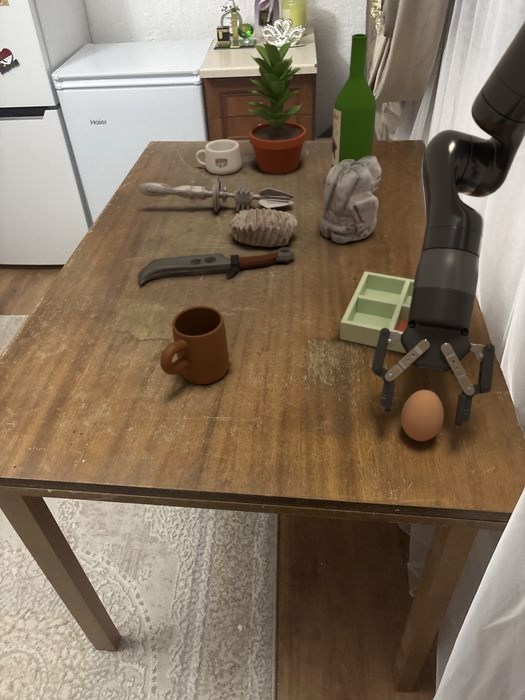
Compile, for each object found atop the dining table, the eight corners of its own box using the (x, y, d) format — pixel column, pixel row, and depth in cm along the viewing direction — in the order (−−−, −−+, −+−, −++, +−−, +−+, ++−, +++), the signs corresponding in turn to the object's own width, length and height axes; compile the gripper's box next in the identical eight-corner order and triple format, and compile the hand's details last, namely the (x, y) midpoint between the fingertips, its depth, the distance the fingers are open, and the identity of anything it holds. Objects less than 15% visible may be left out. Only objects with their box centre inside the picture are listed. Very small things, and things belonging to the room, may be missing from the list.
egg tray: (451, 303, 92) (455, 286, 90) (437, 360, 82) (441, 342, 79) (363, 287, 97) (364, 271, 95) (339, 339, 87) (340, 322, 84)
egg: (438, 424, 72) (449, 382, 67) (438, 454, 68) (449, 412, 63) (399, 418, 73) (406, 376, 68) (396, 447, 70) (404, 405, 64)
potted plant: (307, 154, 146) (308, 27, 126) (304, 177, 134) (305, 42, 115) (253, 154, 147) (246, 29, 128) (245, 177, 136) (236, 43, 116)
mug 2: (243, 160, 144) (242, 137, 140) (241, 175, 137) (239, 151, 133) (199, 161, 145) (196, 139, 141) (194, 176, 138) (191, 153, 134)
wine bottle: (325, 186, 130) (330, 33, 109) (360, 181, 131) (372, 28, 110) (337, 202, 123) (345, 42, 102) (374, 196, 124) (389, 37, 103)
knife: (297, 267, 99) (134, 279, 99) (297, 277, 101) (137, 289, 100) (292, 243, 106) (139, 254, 105) (292, 253, 107) (142, 264, 107)
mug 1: (191, 412, 76) (181, 363, 70) (150, 393, 79) (138, 344, 73) (239, 362, 83) (234, 314, 77) (200, 347, 87) (193, 299, 80)
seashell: (301, 214, 113) (291, 186, 104) (302, 254, 111) (290, 229, 101) (236, 223, 117) (220, 197, 108) (235, 261, 115) (218, 239, 105)
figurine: (385, 233, 112) (394, 162, 102) (344, 250, 107) (349, 178, 97) (352, 215, 118) (357, 147, 108) (312, 231, 113) (313, 161, 104)
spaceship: (141, 169, 123) (133, 169, 115) (294, 180, 123) (296, 181, 115) (141, 205, 125) (133, 207, 118) (291, 216, 125) (292, 219, 118)
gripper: (386, 277, 66) (363, 408, 65) (510, 293, 62) (487, 432, 62) (386, 289, 73) (366, 407, 72) (498, 304, 69) (478, 428, 69)
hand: (422, 418), depth 67 cm, fingers open, 8 cm apart
